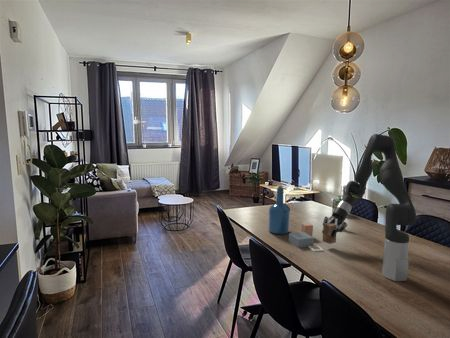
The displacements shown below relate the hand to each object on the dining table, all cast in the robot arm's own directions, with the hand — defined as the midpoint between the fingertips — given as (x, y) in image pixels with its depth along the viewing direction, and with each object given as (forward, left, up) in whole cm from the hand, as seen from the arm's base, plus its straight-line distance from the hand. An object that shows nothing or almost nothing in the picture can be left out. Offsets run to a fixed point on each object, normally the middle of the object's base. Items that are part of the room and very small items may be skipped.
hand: (327, 234), depth 166 cm
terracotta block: (+19, +3, -8) cm, 21 cm away
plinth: (+9, +11, -8) cm, 17 cm away
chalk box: (+64, -44, -8) cm, 78 cm away
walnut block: (+1, -2, -4) cm, 5 cm away
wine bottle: (+30, +17, -8) cm, 36 cm away
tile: (0, +6, -8) cm, 10 cm away
